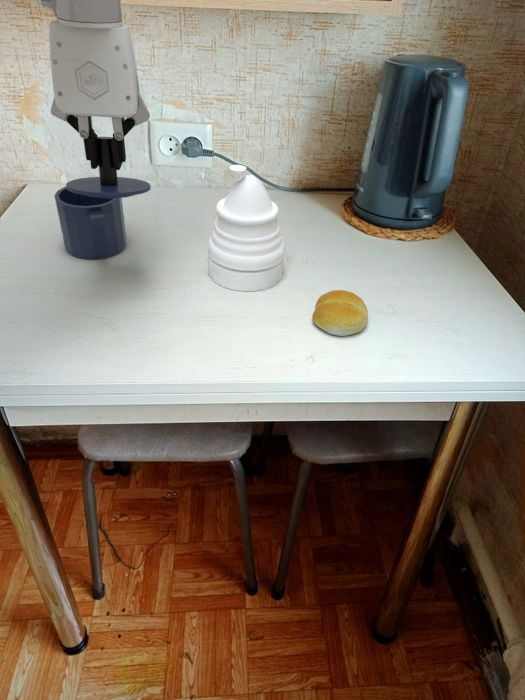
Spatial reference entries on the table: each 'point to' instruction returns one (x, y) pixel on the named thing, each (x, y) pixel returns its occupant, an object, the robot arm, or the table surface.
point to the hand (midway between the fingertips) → (107, 165)
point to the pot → (91, 225)
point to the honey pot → (246, 237)
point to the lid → (107, 178)
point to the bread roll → (340, 313)
